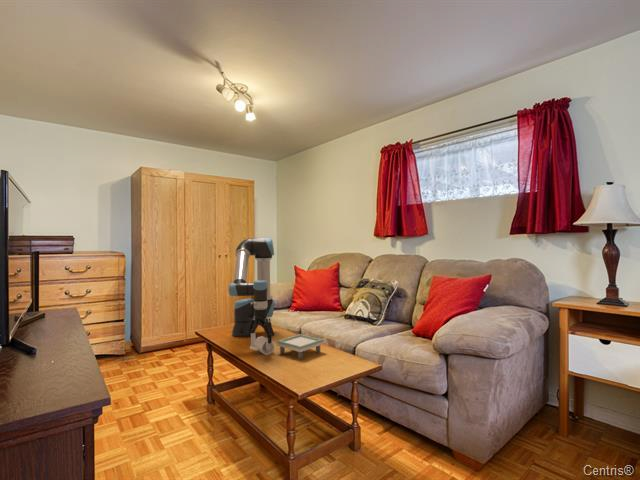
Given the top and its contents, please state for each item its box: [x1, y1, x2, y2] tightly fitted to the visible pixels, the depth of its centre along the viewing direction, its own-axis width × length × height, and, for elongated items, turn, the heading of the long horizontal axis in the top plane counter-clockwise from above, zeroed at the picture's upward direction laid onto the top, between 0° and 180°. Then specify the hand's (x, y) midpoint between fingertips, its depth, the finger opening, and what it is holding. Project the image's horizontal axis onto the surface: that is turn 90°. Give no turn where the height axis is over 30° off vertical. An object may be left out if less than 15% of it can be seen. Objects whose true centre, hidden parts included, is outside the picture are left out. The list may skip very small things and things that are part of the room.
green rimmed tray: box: [276, 333, 324, 361], centre depth 190 cm, size 18×18×7 cm
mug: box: [249, 335, 275, 356], centre depth 191 cm, size 12×10×8 cm
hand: (260, 346), depth 190 cm, fingers open, 13 cm apart
